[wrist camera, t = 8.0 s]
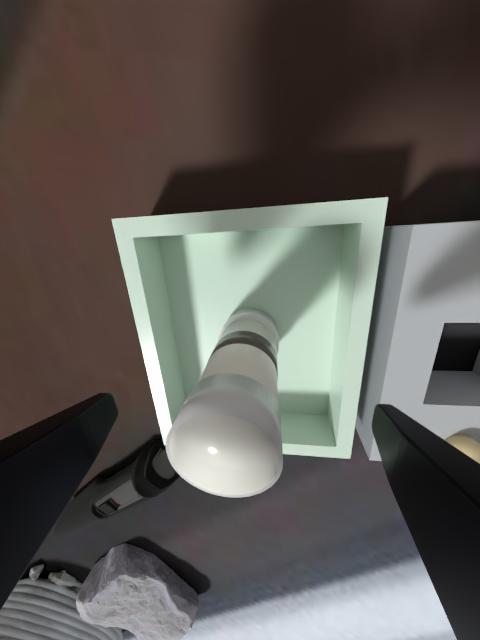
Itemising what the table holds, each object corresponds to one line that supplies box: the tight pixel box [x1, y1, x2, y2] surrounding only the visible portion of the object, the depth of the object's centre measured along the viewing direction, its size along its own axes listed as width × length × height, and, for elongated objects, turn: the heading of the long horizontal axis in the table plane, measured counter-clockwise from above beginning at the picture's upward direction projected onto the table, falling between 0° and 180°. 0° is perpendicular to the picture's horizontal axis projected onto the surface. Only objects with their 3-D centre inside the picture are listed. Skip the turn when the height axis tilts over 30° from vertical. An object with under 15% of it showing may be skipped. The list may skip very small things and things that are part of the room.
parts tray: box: [112, 197, 388, 459], centre depth 13 cm, size 11×13×3 cm
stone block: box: [76, 543, 199, 640], centre depth 26 cm, size 12×5×10 cm
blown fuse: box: [166, 308, 283, 497], centre depth 10 cm, size 3×3×8 cm
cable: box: [0, 564, 123, 640], centre depth 30 cm, size 18×18×6 cm
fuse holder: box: [355, 220, 480, 463], centre depth 11 cm, size 8×12×4 cm, turn 3°
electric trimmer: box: [54, 439, 180, 538], centre depth 20 cm, size 4×16×3 cm, turn 130°
